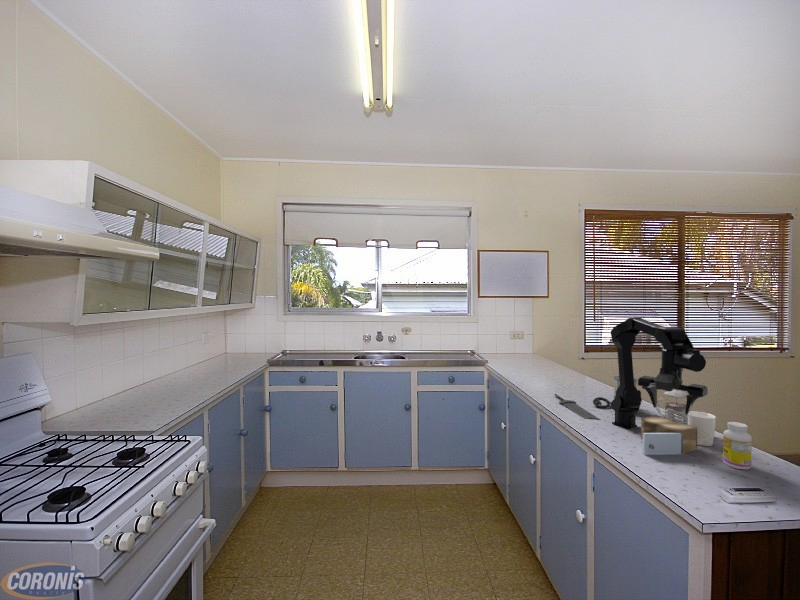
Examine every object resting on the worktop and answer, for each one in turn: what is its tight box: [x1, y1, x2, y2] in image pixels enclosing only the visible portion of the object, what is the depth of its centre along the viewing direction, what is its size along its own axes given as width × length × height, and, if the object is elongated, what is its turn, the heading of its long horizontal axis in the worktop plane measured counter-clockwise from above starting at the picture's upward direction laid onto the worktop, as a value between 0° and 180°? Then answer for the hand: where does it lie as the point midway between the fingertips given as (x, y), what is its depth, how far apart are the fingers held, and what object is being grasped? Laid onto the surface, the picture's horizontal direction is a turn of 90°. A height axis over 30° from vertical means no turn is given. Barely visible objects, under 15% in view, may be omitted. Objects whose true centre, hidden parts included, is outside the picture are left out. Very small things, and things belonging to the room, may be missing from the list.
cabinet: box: [640, 415, 698, 455], centre depth 135 cm, size 14×8×8 cm, turn 25°
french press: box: [656, 389, 689, 425], centre depth 149 cm, size 10×12×25 cm
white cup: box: [688, 410, 716, 447], centre depth 137 cm, size 8×8×10 cm
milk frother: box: [592, 375, 638, 414], centre depth 175 cm, size 14×16×15 cm
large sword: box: [554, 393, 601, 421], centre depth 178 cm, size 7×35×2 cm, turn 3°
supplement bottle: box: [722, 421, 753, 470], centre depth 119 cm, size 7×7×13 cm
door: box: [641, 432, 684, 455], centre depth 126 cm, size 13×2×7 cm, turn 90°
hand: (670, 410), depth 131 cm, fingers open, 9 cm apart
